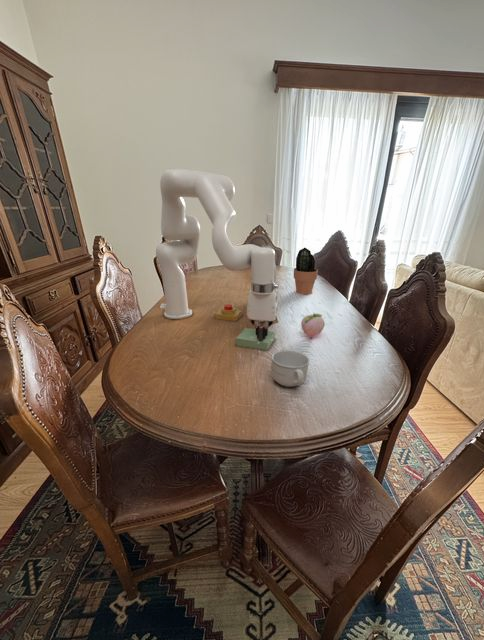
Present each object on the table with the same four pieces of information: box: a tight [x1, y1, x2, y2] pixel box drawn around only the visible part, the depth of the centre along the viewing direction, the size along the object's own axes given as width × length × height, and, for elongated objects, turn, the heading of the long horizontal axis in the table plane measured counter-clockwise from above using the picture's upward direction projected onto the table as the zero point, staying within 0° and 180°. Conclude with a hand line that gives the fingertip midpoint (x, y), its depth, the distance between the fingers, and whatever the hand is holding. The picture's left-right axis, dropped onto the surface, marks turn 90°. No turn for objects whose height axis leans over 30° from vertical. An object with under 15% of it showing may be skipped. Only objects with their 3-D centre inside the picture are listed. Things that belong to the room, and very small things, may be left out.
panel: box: [235, 327, 276, 351], centre depth 106 cm, size 13×12×3 cm
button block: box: [214, 305, 243, 322], centre depth 130 cm, size 10×8×4 cm
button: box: [223, 303, 233, 310], centre depth 129 cm, size 4×4×2 cm
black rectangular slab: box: [259, 323, 265, 341], centre depth 102 cm, size 4×1×5 cm, turn 170°
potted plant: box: [293, 247, 319, 295], centre depth 162 cm, size 14×14×25 cm
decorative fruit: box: [300, 313, 326, 337], centre depth 111 cm, size 9×8×10 cm
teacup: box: [270, 349, 310, 388], centre depth 82 cm, size 14×11×8 cm
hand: (261, 337), depth 103 cm, fingers closed
